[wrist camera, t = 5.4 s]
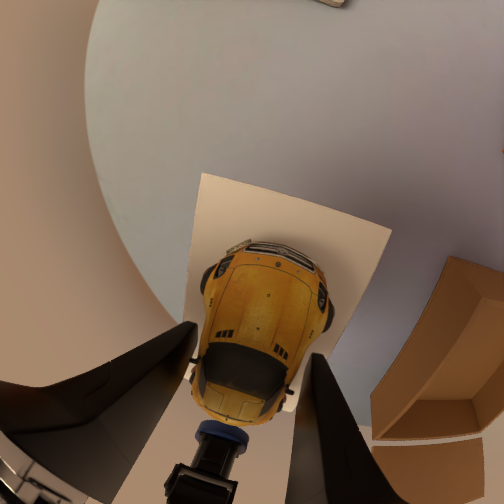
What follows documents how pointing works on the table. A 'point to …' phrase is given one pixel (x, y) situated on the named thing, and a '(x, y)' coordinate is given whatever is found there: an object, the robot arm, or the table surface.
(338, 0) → the smartphone
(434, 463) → the flap
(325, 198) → the table surface
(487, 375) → the carton
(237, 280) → the toy car
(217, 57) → the table surface
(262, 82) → the table surface
